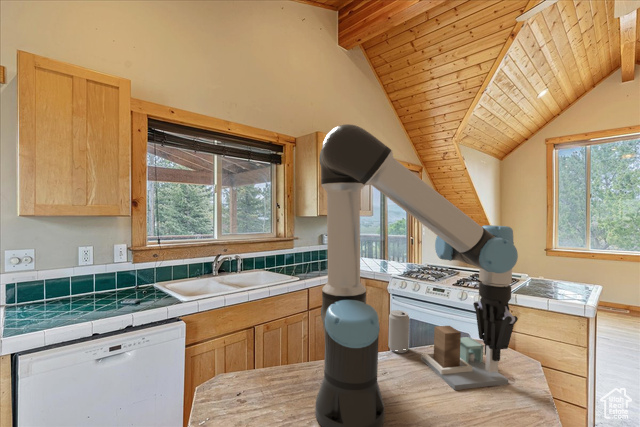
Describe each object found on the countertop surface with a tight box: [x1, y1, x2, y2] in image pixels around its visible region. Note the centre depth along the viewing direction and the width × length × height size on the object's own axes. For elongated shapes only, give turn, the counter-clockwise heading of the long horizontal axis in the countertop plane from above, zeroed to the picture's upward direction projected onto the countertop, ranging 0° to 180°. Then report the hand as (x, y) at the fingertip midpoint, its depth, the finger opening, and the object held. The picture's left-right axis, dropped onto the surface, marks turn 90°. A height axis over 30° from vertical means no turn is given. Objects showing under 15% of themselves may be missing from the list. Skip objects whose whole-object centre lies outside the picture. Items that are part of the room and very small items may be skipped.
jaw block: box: [433, 325, 462, 368], centre depth 87 cm, size 5×5×10 cm
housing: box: [460, 336, 484, 363], centre depth 91 cm, size 6×6×5 cm
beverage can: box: [387, 309, 410, 354], centre depth 98 cm, size 6×6×12 cm
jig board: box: [420, 351, 509, 391], centre depth 86 cm, size 16×16×3 cm
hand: (491, 370), depth 81 cm, fingers closed
